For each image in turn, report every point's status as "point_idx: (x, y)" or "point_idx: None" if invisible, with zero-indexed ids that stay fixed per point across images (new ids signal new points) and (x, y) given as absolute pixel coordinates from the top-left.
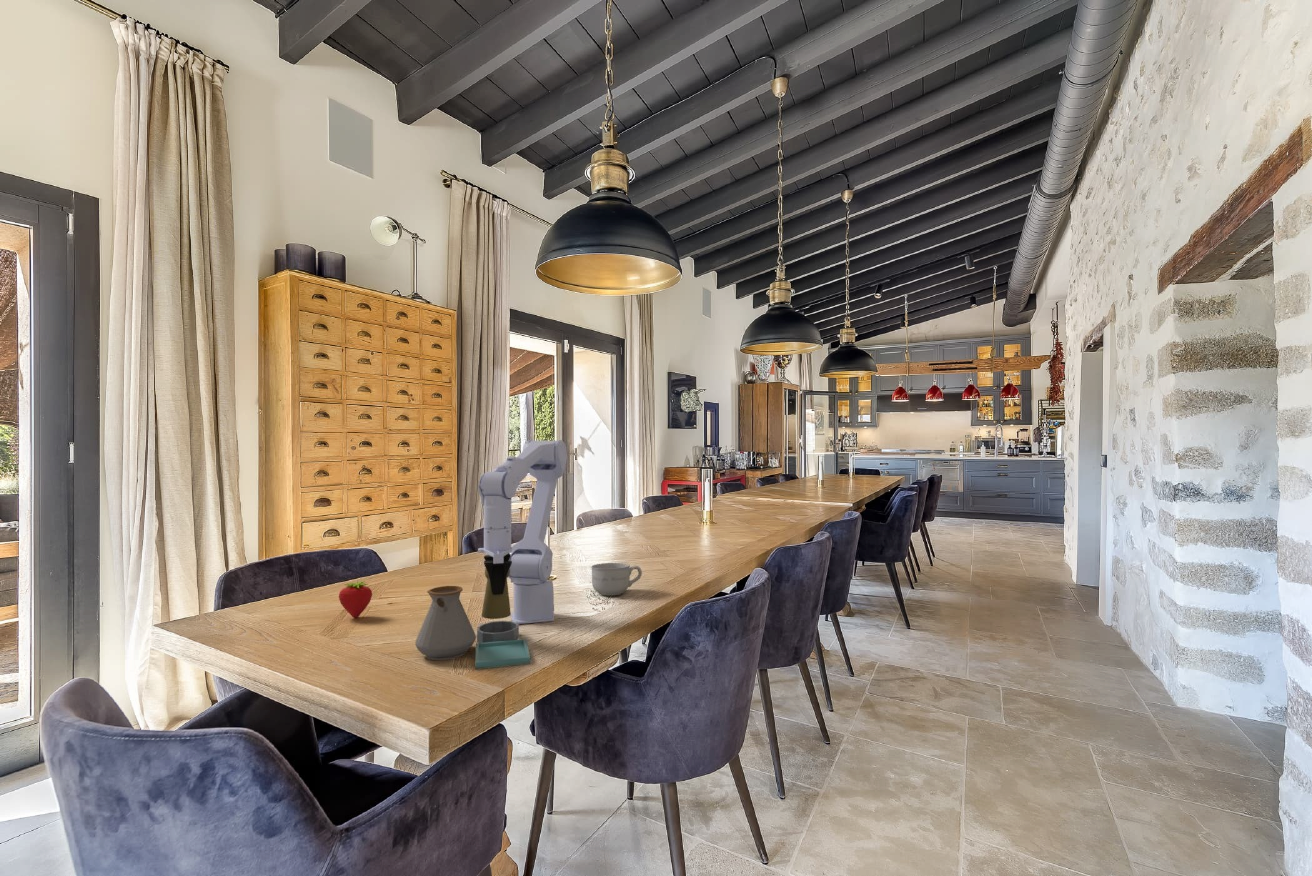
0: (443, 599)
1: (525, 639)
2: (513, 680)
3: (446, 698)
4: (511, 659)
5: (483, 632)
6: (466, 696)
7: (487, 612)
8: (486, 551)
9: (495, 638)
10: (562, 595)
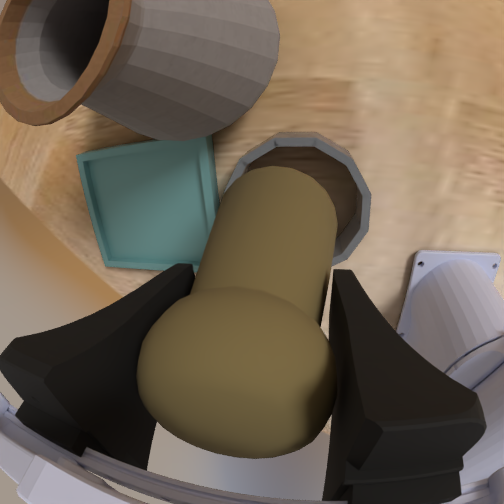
0: (22, 49)
1: None
2: (51, 226)
3: (4, 130)
4: (94, 230)
5: (244, 161)
6: (9, 158)
7: (223, 199)
8: (14, 471)
9: None
10: None
